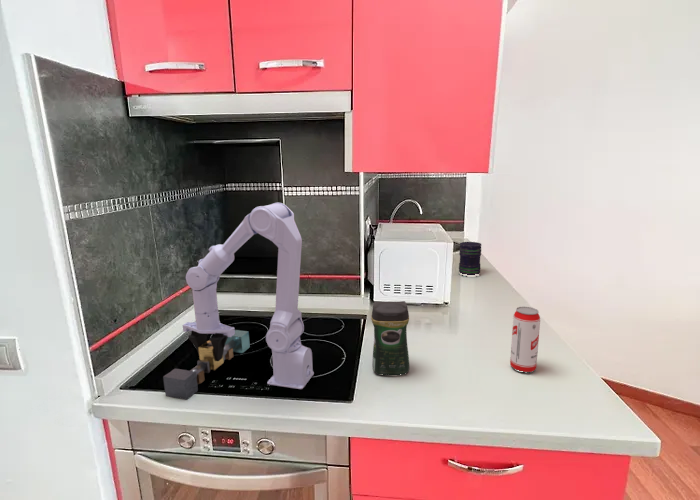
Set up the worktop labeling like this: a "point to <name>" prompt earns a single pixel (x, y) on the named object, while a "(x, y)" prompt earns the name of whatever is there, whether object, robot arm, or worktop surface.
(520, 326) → the beer can
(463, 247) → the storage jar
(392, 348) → the coffee jar
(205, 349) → the block
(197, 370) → the shaft bench
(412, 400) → the worktop surface
